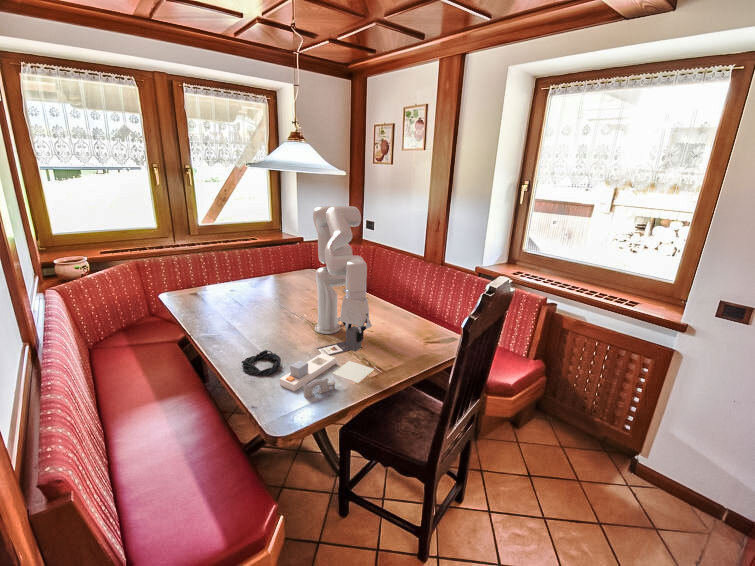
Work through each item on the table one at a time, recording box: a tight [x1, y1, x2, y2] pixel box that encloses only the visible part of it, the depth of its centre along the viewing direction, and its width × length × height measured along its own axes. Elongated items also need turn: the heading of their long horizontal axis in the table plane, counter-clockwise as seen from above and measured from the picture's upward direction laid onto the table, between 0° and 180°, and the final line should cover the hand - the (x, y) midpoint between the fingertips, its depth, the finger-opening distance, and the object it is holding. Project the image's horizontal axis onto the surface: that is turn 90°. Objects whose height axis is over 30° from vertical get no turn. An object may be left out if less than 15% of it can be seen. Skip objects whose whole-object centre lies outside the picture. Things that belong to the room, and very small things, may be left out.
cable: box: [241, 349, 282, 377], centre depth 146 cm, size 17×14×4 cm
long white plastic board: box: [279, 352, 337, 392], centre depth 142 cm, size 24×7×4 cm, turn 149°
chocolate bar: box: [316, 340, 363, 356], centre depth 164 cm, size 9×1×18 cm
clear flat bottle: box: [302, 377, 336, 399], centre depth 130 cm, size 12×2×6 cm, turn 125°
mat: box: [331, 360, 375, 384], centre depth 146 cm, size 12×12×1 cm
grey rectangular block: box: [345, 325, 363, 352], centre depth 141 cm, size 5×4×8 cm
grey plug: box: [289, 359, 308, 379], centre depth 137 cm, size 5×4×6 cm
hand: (354, 339), depth 141 cm, fingers closed on grey rectangular block, 4 cm apart
